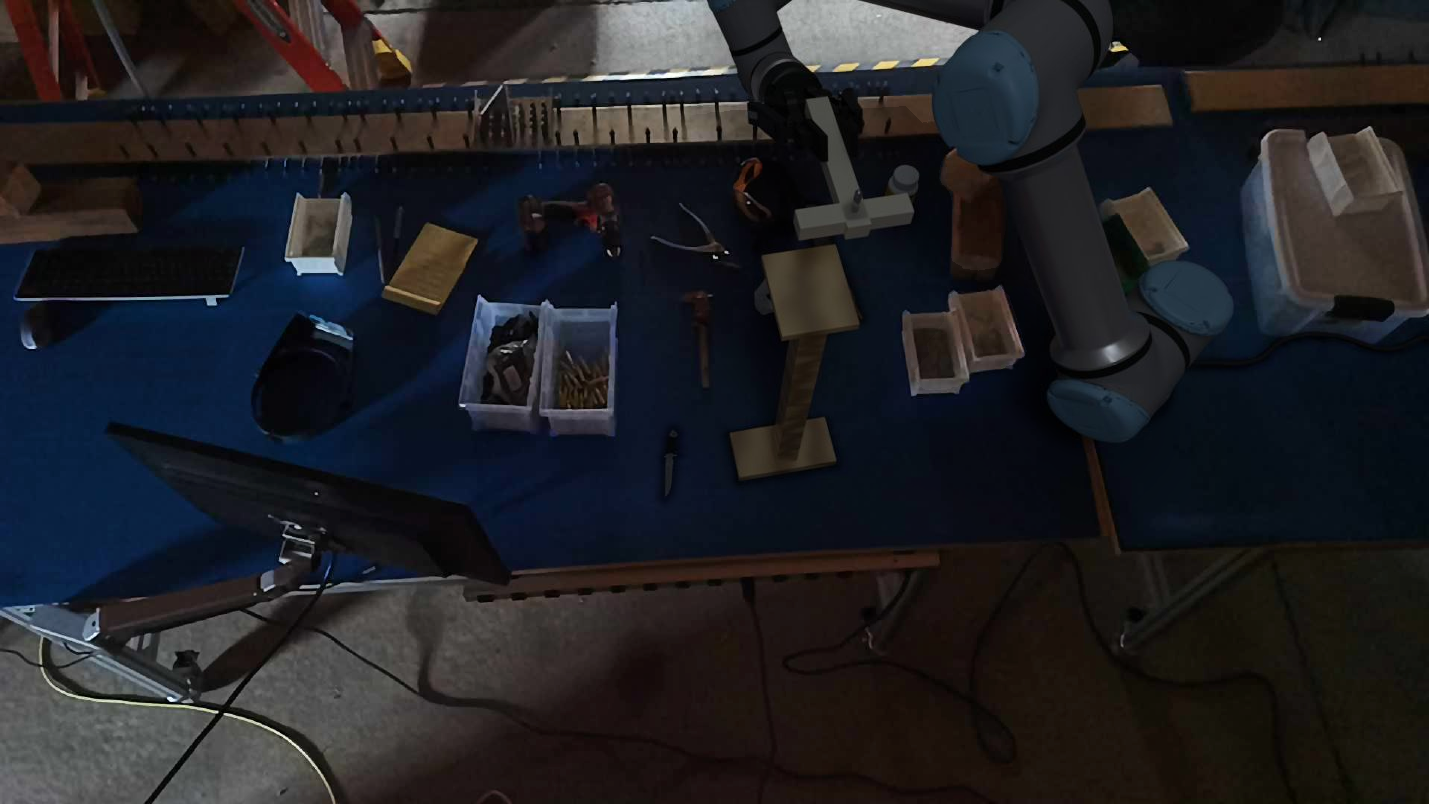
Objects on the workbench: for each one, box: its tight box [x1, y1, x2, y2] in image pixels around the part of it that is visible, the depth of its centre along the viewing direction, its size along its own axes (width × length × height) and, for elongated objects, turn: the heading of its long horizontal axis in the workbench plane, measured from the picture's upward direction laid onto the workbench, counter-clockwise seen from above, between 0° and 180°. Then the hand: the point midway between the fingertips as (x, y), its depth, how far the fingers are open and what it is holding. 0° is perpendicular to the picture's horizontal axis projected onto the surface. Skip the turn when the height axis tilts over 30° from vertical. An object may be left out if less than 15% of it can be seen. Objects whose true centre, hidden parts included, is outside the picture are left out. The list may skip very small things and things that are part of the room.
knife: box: [663, 429, 678, 498], centre depth 122 cm, size 10×2×1 cm, turn 170°
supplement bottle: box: [884, 164, 920, 205], centre depth 139 cm, size 5×5×8 cm
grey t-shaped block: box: [792, 96, 915, 241], centre depth 91 cm, size 12×18×5 cm, turn 11°
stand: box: [729, 243, 861, 482], centre depth 106 cm, size 14×10×40 cm
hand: (839, 146), depth 90 cm, fingers closed on grey t-shaped block, 2 cm apart
